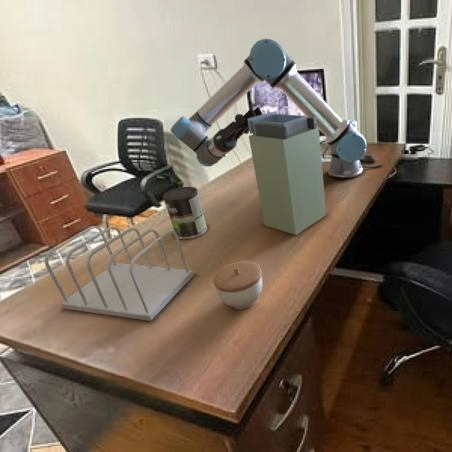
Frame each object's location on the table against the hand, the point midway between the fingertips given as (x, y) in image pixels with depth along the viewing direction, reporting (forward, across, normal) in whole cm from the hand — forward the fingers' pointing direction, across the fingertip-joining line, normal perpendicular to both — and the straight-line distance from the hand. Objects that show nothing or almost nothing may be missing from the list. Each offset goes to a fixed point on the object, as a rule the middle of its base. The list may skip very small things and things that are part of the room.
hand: (256, 111), depth 108 cm
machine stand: (-8, 0, -36) cm, 37 cm away
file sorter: (-18, +51, -31) cm, 62 cm away
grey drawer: (0, 0, -6) cm, 6 cm away
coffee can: (-31, +24, -23) cm, 45 cm away
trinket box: (+6, +38, -44) cm, 59 cm away
